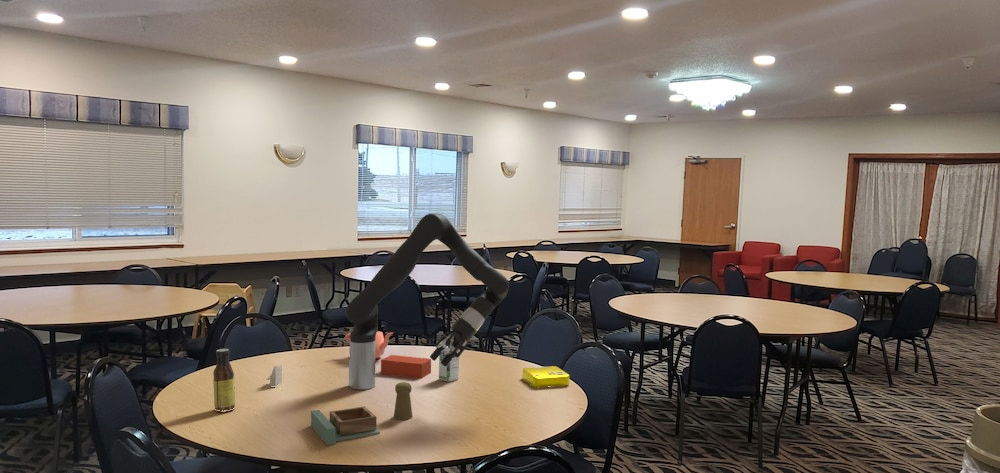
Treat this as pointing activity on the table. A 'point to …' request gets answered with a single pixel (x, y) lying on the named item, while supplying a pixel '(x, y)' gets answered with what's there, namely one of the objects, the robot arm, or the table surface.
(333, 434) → the track and backstop
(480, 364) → the table surface
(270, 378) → the architectural model
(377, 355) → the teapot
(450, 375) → the syrup box
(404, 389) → the olive knob
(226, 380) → the sauce bottle
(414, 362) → the brick
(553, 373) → the element tile
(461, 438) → the table surface
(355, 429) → the wooden tray
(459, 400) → the table surface
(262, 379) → the table surface
